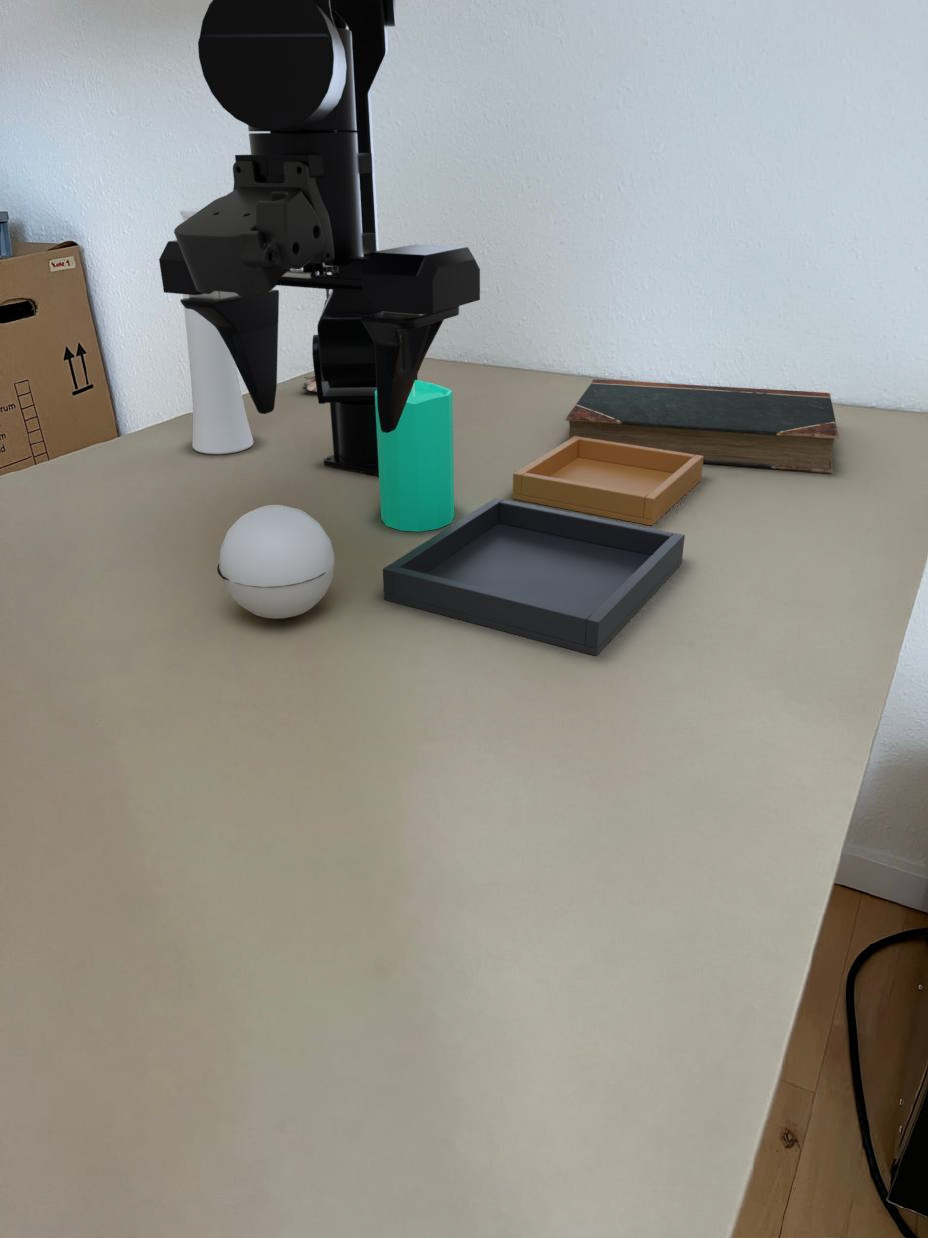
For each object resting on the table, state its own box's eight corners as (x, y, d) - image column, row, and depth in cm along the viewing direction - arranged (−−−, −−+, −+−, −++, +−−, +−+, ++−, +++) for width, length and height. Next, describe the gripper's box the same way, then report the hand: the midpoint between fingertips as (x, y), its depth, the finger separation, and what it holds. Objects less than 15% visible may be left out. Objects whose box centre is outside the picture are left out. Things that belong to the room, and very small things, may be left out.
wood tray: (512, 498, 81) (512, 473, 80) (573, 458, 90) (574, 435, 89) (651, 525, 75) (654, 498, 74) (701, 480, 85) (704, 455, 84)
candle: (381, 506, 79) (373, 362, 74) (451, 503, 80) (449, 360, 74) (381, 533, 74) (373, 380, 69) (457, 530, 75) (455, 378, 69)
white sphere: (247, 586, 66) (234, 486, 62) (350, 591, 65) (343, 490, 61) (191, 657, 57) (173, 545, 54) (310, 664, 56) (298, 551, 53)
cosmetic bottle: (225, 458, 91) (193, 212, 81) (179, 449, 94) (143, 210, 84) (266, 442, 96) (241, 207, 86) (221, 433, 99) (192, 205, 88)
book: (562, 453, 92) (832, 474, 86) (564, 416, 90) (839, 436, 84) (592, 407, 107) (824, 423, 100) (594, 375, 105) (830, 389, 99)
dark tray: (384, 599, 64) (382, 568, 63) (494, 524, 76) (494, 497, 75) (596, 656, 57) (598, 622, 56) (681, 563, 69) (685, 534, 67)
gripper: (59, 134, 48) (113, 434, 55) (361, 130, 40) (379, 483, 47) (211, 134, 56) (241, 393, 64) (485, 130, 48) (484, 428, 55)
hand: (325, 421), depth 57 cm, fingers open, 9 cm apart
